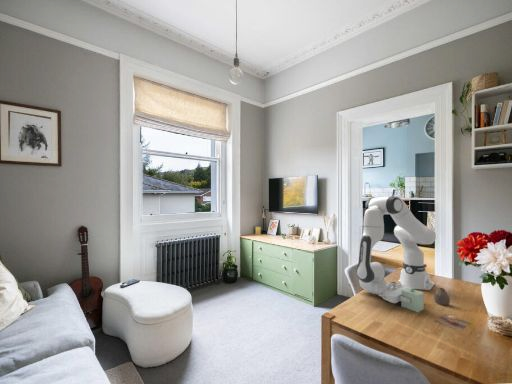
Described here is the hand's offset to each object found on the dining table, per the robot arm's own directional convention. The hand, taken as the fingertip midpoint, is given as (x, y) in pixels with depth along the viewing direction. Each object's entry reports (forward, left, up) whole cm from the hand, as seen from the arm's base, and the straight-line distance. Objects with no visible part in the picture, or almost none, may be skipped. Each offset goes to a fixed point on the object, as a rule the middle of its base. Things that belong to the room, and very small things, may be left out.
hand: (414, 299), depth 128 cm
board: (0, +16, -6) cm, 17 cm away
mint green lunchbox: (0, -1, -5) cm, 5 cm away
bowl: (0, +16, -5) cm, 17 cm away
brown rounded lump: (-19, +5, -6) cm, 21 cm away
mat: (0, -1, -6) cm, 6 cm away
